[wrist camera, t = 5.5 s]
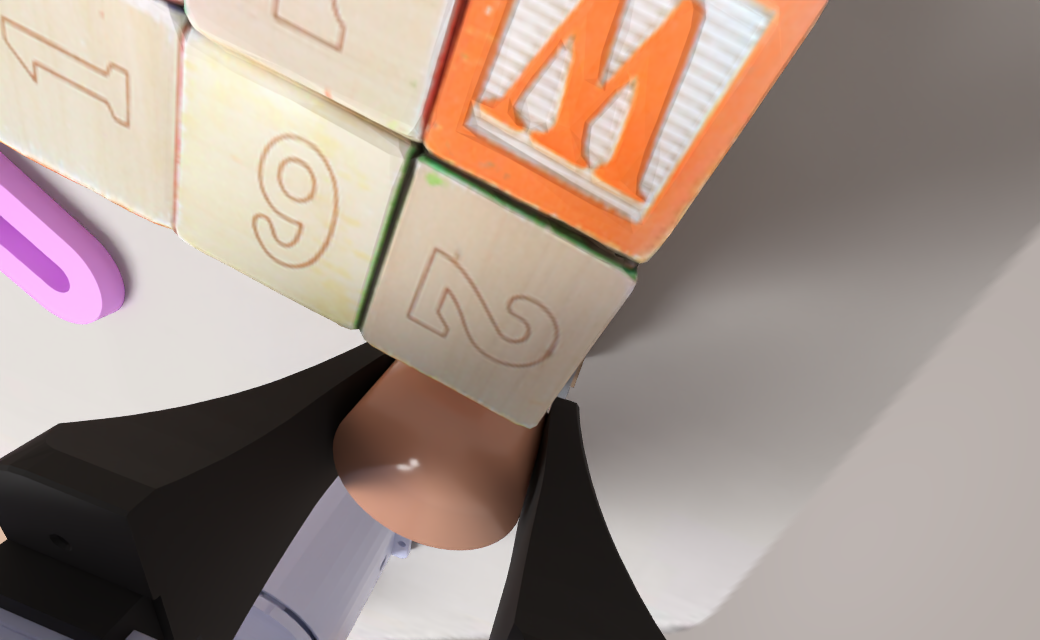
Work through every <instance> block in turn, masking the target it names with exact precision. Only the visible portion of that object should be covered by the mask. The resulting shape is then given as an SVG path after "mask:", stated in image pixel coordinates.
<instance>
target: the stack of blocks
mask: <svg viewBox="0 0 1040 640" xmlns="http://www.w3.org/2000/svg"><path fill="white" fill-rule="evenodd" d="M828 2H829V0H0V142H2V143H3V144H5V145H7V146H8V147H10V148H12V149H13V150H15V151H17V152H18V153H20V154H22V155H24V156H25V157H27V158H29V159H31V160H33V161H35V162H36V163H38V164H40V165H42V166H44V167H46V168H48V169H50V170H52V171H54V172H56V173H58V174H60V175H62V176H64V177H66V178H68V179H70V180H71V181H73V182H76V183H78V184H80V185H82V186H84V187H86V188H89V189H91V190H93V191H94V192H96V193H98V194H99V195H101V196H103V197H104V198H106V199H108V200H110V201H111V202H113V203H115V204H117V205H119V206H121V207H123V208H124V209H126V210H128V211H130V212H132V213H134V214H136V215H138V216H140V217H142V218H145V219H147V220H149V221H151V222H153V223H155V224H158V225H161V226H164V227H167V228H170V229H173V230H174V232H175V233H176V234H177V235H178V236H179V237H180V239H181V240H182V241H184V242H185V243H187V244H189V245H191V246H192V247H194V248H196V249H198V250H199V251H201V252H203V253H205V254H207V255H209V256H211V257H213V258H215V259H217V260H219V261H220V262H222V263H224V264H226V265H228V266H230V267H232V268H234V269H236V270H238V271H239V272H241V273H243V274H245V275H247V276H249V277H250V278H252V279H254V280H256V281H258V282H259V283H261V284H263V285H265V286H267V287H269V288H270V289H272V290H274V291H276V292H278V293H280V294H282V295H284V296H285V297H287V298H289V299H291V300H293V301H295V302H297V303H299V304H301V305H303V306H304V307H306V308H308V309H310V310H312V311H314V312H316V313H318V314H320V315H322V316H324V317H326V318H328V319H330V320H332V321H334V322H336V323H337V324H338V325H340V326H342V327H345V328H348V329H350V330H352V329H359V330H360V332H361V334H362V336H363V338H364V339H365V340H366V341H367V342H368V343H369V344H370V345H371V346H373V347H375V348H376V349H378V350H380V351H382V352H383V353H385V354H387V355H389V356H391V357H392V358H394V359H396V360H398V361H400V362H402V363H404V364H406V365H407V366H409V367H411V368H413V369H415V370H417V371H419V372H420V373H422V374H424V375H426V376H428V377H430V378H432V379H433V380H435V381H437V382H439V383H441V384H443V385H444V386H446V387H448V388H450V389H452V390H454V391H455V392H457V393H459V394H461V395H463V396H465V397H466V398H468V399H470V400H472V401H474V402H476V403H477V404H479V405H481V406H483V407H485V408H487V409H488V410H490V411H492V412H494V413H496V414H497V415H499V416H501V417H503V418H505V419H507V420H508V421H510V422H512V423H514V424H516V425H519V426H522V427H525V428H529V429H531V428H533V427H535V426H537V424H538V423H539V421H540V420H541V418H542V417H543V416H544V414H545V413H546V411H547V410H548V408H549V407H550V405H551V404H552V402H553V401H554V400H555V398H556V397H557V395H558V394H559V393H560V391H561V390H562V388H563V387H564V386H565V384H566V383H567V381H568V380H569V379H570V377H571V376H572V374H573V373H574V372H575V370H576V369H577V367H578V366H579V365H580V363H581V362H582V360H583V359H584V358H585V356H586V355H587V353H588V352H589V351H590V349H591V348H592V346H593V345H594V344H595V342H596V341H597V339H598V338H599V337H600V335H601V334H602V332H603V331H604V330H605V328H606V327H607V326H608V324H609V323H610V321H611V320H612V319H613V317H614V316H615V315H616V313H617V312H618V310H619V309H620V308H621V306H622V305H623V304H624V302H625V301H626V299H627V298H628V297H629V295H630V294H631V293H632V291H633V289H634V287H635V285H636V283H637V281H638V275H637V266H638V264H639V263H640V264H641V263H645V262H648V261H649V259H650V258H651V257H652V256H653V255H654V254H655V253H656V252H657V251H658V250H659V248H660V247H661V246H662V244H663V243H664V242H665V241H666V239H667V238H668V237H669V236H670V234H671V233H672V231H673V230H674V228H675V227H676V225H677V224H678V223H679V221H680V220H681V218H682V217H683V215H684V214H685V212H686V211H687V209H688V208H689V207H690V205H691V204H692V202H693V201H694V199H695V198H696V197H697V195H698V194H699V192H700V191H701V189H702V188H703V187H704V185H705V184H706V182H707V181H708V179H709V178H710V176H711V175H712V174H713V172H714V171H715V169H716V168H717V166H718V165H719V164H720V162H721V161H722V159H723V158H724V156H725V155H726V154H727V152H728V151H729V149H730V148H731V146H732V145H733V143H734V142H735V141H736V139H737V138H738V136H739V135H740V133H741V132H742V130H743V129H744V127H745V126H746V125H747V123H748V122H749V120H750V119H751V117H752V116H753V114H754V113H755V111H756V110H757V108H758V107H759V106H760V104H761V103H762V101H763V100H764V98H765V97H766V95H767V94H768V92H769V91H770V89H771V88H772V87H773V85H774V84H775V82H776V81H777V79H778V78H779V76H780V75H781V73H782V72H783V71H784V69H785V68H786V66H787V65H788V63H789V62H790V60H791V59H792V57H793V56H794V54H795V53H796V52H797V50H798V49H799V47H800V46H801V44H802V43H803V41H804V40H805V38H806V37H807V35H808V34H809V33H810V31H811V30H812V28H813V27H814V25H815V24H816V22H817V20H818V19H819V17H820V15H821V14H822V12H823V10H824V9H825V7H826V5H827V4H828Z"/></svg>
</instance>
